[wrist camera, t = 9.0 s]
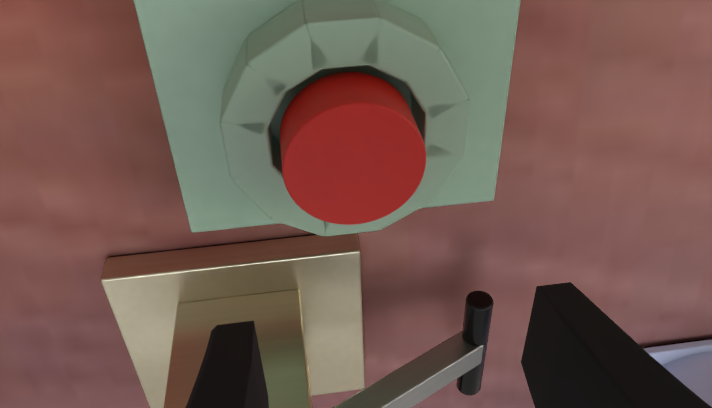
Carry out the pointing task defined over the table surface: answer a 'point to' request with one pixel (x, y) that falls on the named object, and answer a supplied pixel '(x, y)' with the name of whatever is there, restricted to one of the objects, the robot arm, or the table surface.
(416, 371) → the power lever
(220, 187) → the stop box
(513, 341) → the table surface
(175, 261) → the switch bracket
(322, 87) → the stop button
